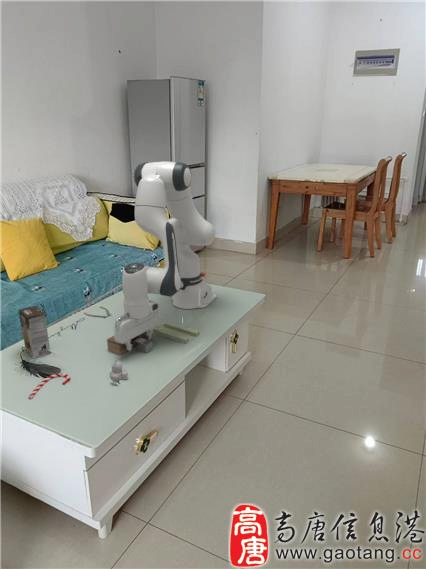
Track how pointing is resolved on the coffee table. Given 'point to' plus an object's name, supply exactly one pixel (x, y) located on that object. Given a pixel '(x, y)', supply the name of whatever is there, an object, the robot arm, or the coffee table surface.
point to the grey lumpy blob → (118, 372)
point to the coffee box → (34, 331)
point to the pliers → (100, 316)
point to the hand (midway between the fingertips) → (139, 344)
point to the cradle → (176, 332)
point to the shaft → (142, 344)
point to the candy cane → (48, 380)
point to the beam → (119, 345)
